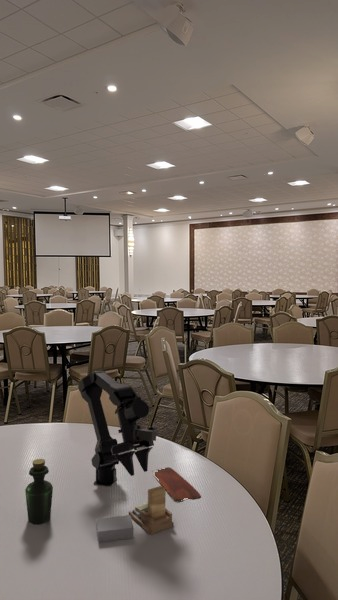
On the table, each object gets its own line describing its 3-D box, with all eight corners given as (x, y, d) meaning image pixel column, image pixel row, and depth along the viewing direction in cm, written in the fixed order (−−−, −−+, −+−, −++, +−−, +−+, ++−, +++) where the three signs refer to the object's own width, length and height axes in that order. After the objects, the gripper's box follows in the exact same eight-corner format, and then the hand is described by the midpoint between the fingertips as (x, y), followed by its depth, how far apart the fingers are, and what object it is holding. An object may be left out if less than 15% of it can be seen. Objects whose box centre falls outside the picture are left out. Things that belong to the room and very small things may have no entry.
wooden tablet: (202, 499, 152) (203, 494, 152) (175, 504, 148) (175, 499, 148) (172, 468, 176) (172, 463, 176) (148, 471, 173) (148, 467, 173)
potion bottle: (54, 511, 142) (53, 455, 141) (51, 525, 134) (51, 466, 133) (27, 513, 141) (26, 456, 140) (23, 527, 133) (22, 467, 132)
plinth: (96, 528, 133) (96, 518, 133) (130, 524, 135) (130, 514, 135) (97, 542, 126) (97, 531, 126) (133, 537, 128) (133, 527, 128)
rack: (128, 514, 140) (128, 502, 140) (151, 507, 145) (151, 495, 145) (150, 534, 130) (150, 520, 130) (173, 525, 134) (173, 512, 134)
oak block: (147, 515, 134) (147, 489, 134) (160, 511, 137) (160, 485, 136) (152, 519, 132) (152, 493, 132) (165, 515, 135) (165, 489, 134)
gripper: (136, 418, 137) (148, 471, 132) (161, 416, 154) (173, 464, 149) (105, 428, 141) (116, 480, 136) (133, 425, 157) (144, 471, 152)
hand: (139, 473), depth 143 cm, fingers open, 9 cm apart
